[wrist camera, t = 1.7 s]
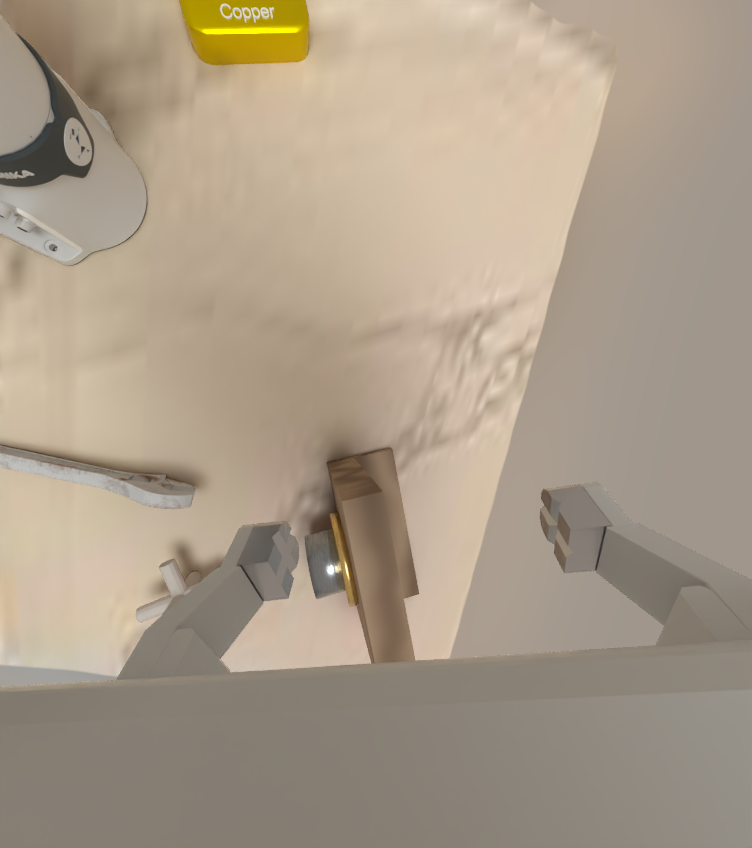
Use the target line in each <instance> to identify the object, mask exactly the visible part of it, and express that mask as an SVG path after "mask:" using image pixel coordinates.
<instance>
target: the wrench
mask: <svg viewBox="0 0 752 848" xmlns="http://www.w3.org/2000/svg"><path fill="white" fill-rule="evenodd" d="M0 467H2V468H7V469H11V470H16V471H21V472H26V473H31V474H36V475H41V476H45V477H50V478H55V479H60V480H65V481H70V482H75V483H80V484H84V485H89V486H94V487H99V488H103V489H106V490H109V491H112V492H114V493H117V494H120V495H123V496H125V497H127V498H130V499H132V500H134V501H136V502H138V503H140V504H143V505H146V506H150V507H155V508H162V509H181V508H187V507H190V506H191V503H192V499H193V495H194V492H195V488H194V486H192V485H189V484H186V483H183V482H180V481H176V480H172V479H167V478H166V474H160V475H153V474H141V473H131V472H123V471H117V470H112V469H107V468H102V467H98V466H93V465H88V464H84V463H79V462H75V461H70V460H65V459H61V458H56V457H52V456H47V455H43V454H38V453H33V452H29V451H24V450H19V449H15V448H10V447H6V446H1V445H0Z"/></svg>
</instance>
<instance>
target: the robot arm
mask: <svg viewBox="0 0 752 848" xmlns="http://www.w3.org/2000/svg"><path fill="white" fill-rule="evenodd" d="M146 203H147V196H146V188H145V184H144V181H143V178H142V176H141V173H140V171H139V170H138V168H137V166H136V165H135V163H134V162H133V160H132V159H131V158H130V157H129V155H128V154H127V153H126V152H125V151H124V150H123V149H122V148H121V147H120V145H119V144H118V143H117V141H116V139H115V137H114V134H113V132H112V129H111V127H110V125H109V123H108V122H107V120H106V119H105V118H104V117H103V116H102V115H101V113H100V112H98V111H97V110H94V109H91V108H88V107H87V106H86V105H85V103H84V102H83V101H82V100H81V99H80V98H79V97H78V95H77V94H76V93H75V92H74V91H73V90H72V89H71V88H70V86H69V85H68V84H67V83H66V82H65V81H64V80H63V79H62V77H61V76H60V75H59V74H57V73H56V72H55V71H53V70H52V68H51V67H50V66H49V65H48V64H47V62H46V61H45V60H44V59H43V58H42V57H40V56H39V54H38V53H37V52H36V51H35V50H34V49H33V47H32V46H31V45H30V44H29V43H28V42H27V41H25V40H24V39H23V38H22V37H21V36H20V35H18V34H17V33H16V32H14V30H13V29H12V28H11V26H10V25H9V24H8V23H7V21H6V20H5V19H4V17H3V16H2V15H1V14H0V235H2V236H5V237H7V238H9V239H11V240H13V241H15V242H17V243H19V244H21V245H24V246H26V247H28V248H30V249H32V250H34V251H36V252H38V253H40V254H43V255H45V256H47V257H49V258H51V259H53V260H55V261H57V262H59V263H62V264H64V265H69V266H70V265H74V264H77V263H78V262H80V261H81V260H83V259H84V258H85V257H86V256H88V255H89V254H90V253H92V252H95V251H98V250H102V249H107V248H110V247H113V246H116V245H118V244H120V243H122V242H123V241H125V240H126V239H128V238H129V237H130V236H131V235H132V234H133V233H134V232H135V231H136V230H137V228H138V227H139V225H140V224H141V222H142V220H143V217H144V214H145V210H146ZM54 247H57V250H56V251H53V249H54ZM541 499H542V501H543V503H544V506H543V507H542V508H541V509H540V520H541V526H542V529H543V531H544V534H545V536H546V538H547V540H548V541H549V542H551V543H552V544H554V545H555V549H554V554H555V556H556V558H557V560H558V561H559V564H560V565H561V567H562V569H563V571H564V573H572V572H586V571H596V572H597V573H598V574H599V575H600V576H601V577H603V578H604V579H605V580H606V581H608V582H609V583H610V584H612V585H613V586H614V587H615V588H617V589H618V590H619V591H620V592H622V593H623V594H624V595H626V596H627V597H628V598H629V599H631V600H632V601H633V602H634V603H636V604H637V605H638V606H639V607H641V608H642V609H643V610H645V611H646V612H647V613H648V614H650V615H651V616H652V617H654V618H655V619H656V620H657V621H659V622H660V623H661V624H663V625H664V628H663V630H662V632H661V634H660V636H659V639H658V641H657V643H656V645H654V646H638V647H623V648H608V649H593V650H577V651H561V652H545V653H530V654H513V655H498V656H482V657H466V658H450V659H434V660H419V661H403V662H388V663H372V664H357V665H341V666H326V667H310V668H295V669H279V670H264V671H248V672H232V673H231V672H230V670H229V668H228V667H227V666H226V665H225V664H224V663H223V662H222V661H221V660H220V659H221V657H222V656H223V655H224V653H225V652H226V651H227V650H228V648H229V647H230V646H231V644H232V643H233V642H234V641H235V639H236V638H237V637H238V635H239V634H240V633H241V631H242V630H243V629H244V628H245V626H246V625H247V624H248V622H249V621H250V620H251V619H252V617H253V616H254V615H255V613H256V612H257V611H258V609H259V608H260V607H261V606H262V604H263V601H270V600H279V599H287V598H289V595H290V591H291V587H292V583H293V580H294V578H293V576H292V574H291V572H292V571H293V570H294V569H295V568H296V567H297V564H298V560H299V546H298V542H297V540H296V538H295V537H294V536H292V535H291V534H290V530H291V527H290V526H289V524H288V522H286V521H280V522H270V523H259V524H252V525H243V526H242V527H240V528H239V530H238V532H237V534H236V536H235V538H234V540H233V542H232V544H231V546H230V548H229V550H228V552H227V554H226V556H225V558H224V560H223V562H222V564H221V567H220V568H216V569H214V570H213V571H212V572H211V573H210V574H209V575H208V576H207V577H205V578H204V579H203V580H202V581H201V582H200V583H199V584H197V585H196V586H195V587H194V588H193V589H192V590H191V591H190V592H188V593H187V594H186V595H185V596H184V597H183V598H182V599H180V600H179V601H178V602H177V603H176V604H175V605H174V606H173V607H171V608H170V609H169V610H168V611H167V612H166V613H165V614H163V615H162V616H161V617H160V618H159V619H158V620H157V621H156V622H154V623H153V624H152V625H151V626H150V627H149V628H148V629H146V630H145V632H144V634H143V635H142V637H141V639H140V640H139V642H138V644H137V646H136V647H135V649H134V651H133V652H132V654H131V656H130V657H129V659H128V661H127V662H126V664H125V666H124V667H123V669H122V671H121V672H120V674H119V676H118V677H117V680H107V681H92V682H75V683H59V684H43V685H27V686H11V687H10V686H9V687H0V848H752V579H750V578H748V577H746V576H743V575H742V574H739V573H737V572H736V571H733V570H732V569H729V568H727V567H726V566H724V565H721V564H719V563H717V562H716V561H714V560H711V559H710V558H707V557H706V556H704V555H702V554H700V553H697V552H696V551H694V550H692V549H690V548H688V547H686V546H684V545H682V544H680V543H678V542H676V541H674V540H672V539H670V538H668V537H666V536H664V535H662V534H660V533H658V532H656V531H654V530H652V529H650V528H648V527H646V526H644V525H642V524H634V523H633V522H632V521H631V520H630V519H629V517H628V516H627V515H626V514H625V513H624V512H623V510H622V509H621V508H620V507H619V506H618V504H617V503H616V502H615V501H614V499H613V498H612V497H611V496H610V495H609V494H608V492H607V491H606V490H605V489H604V488H603V486H602V485H601V484H600V483H598V482H593V483H585V484H579V485H570V486H563V487H556V488H548V489H543V491H542V494H541Z"/></svg>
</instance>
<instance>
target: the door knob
mask: <svg viewBox="0 0 752 848" xmlns="http://www.w3.org/2000/svg"><path fill="white" fill-rule="evenodd" d="M330 518H331V523H332V528H333V529H329V530H325V531H321V532H318V533H314V534H310V535H307V536H305V546H306V553H307V560H308V566H309V571H310V576H311V581H312V585H313V589H314V593H315V596H316V599H319V598H322V597H326V596H329V595H332V594H335V593H339V592H342V591H345V590H346V593H347V598H348V602H349V607H351V606H354V605H358V604H359V601H358V595H357V590H356V584H355V580H354V575H353V570H352V566H351V561H350V556H349V552H348V548H347V543H346V539H345V535H344V531H343V527H342V523H341V519H340V515H339V512H335V513H332V514H330Z"/></svg>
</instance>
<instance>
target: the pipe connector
mask: <svg viewBox="0 0 752 848" xmlns="http://www.w3.org/2000/svg"><path fill="white" fill-rule="evenodd" d="M159 569H160V571H161V574H162V576H163V578H164V580H165V583H166V585H167V587H168V589H169V591H170V594H171V595H168V596H166V597H163V598H161V599H158V600H156V601H154V602H151V603H149V604H146V605H144V606H141V607H139V608H138V609H137V611H136V618H137V620H138V622H141V623H142V622H144V621H146V620H149V619H151V618H154V617H156V616H158V615H161V614H162V615H163V614H165V613H166V612H167V611H168V610H169V609H170V608H171V607H173V606H174V605H175V604H176V603H177V602H178V601H179V600H180V599H182V598H183V597H184V596H185V595H186V594H187V593H188V592H190V591H191V590H192V589H193V588H194V587H195V586H196V585H197V584H199V582H200V580H201V578H202V576H201V574H200V573H199V572H197V571H194V572H191V573H190V574H189V575H188V577H187V578H186V580H185V581H184V579H183V577H182V575H181V572H180V570H179V568H178V565H177V563H176V561H175V559H171V560H168V561H166V562H164V563H163V564H161V565H160V566H159Z"/></svg>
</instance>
